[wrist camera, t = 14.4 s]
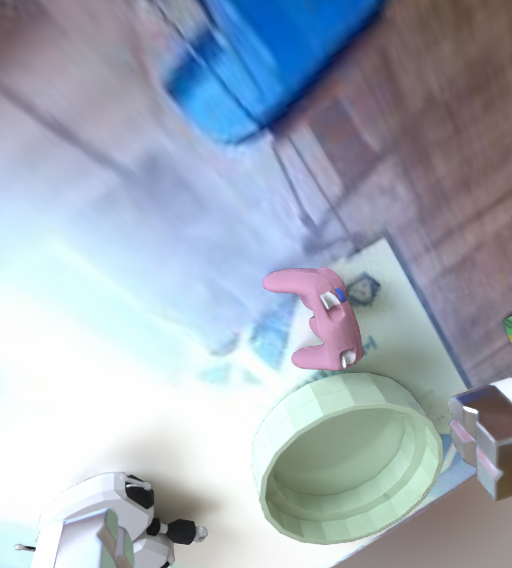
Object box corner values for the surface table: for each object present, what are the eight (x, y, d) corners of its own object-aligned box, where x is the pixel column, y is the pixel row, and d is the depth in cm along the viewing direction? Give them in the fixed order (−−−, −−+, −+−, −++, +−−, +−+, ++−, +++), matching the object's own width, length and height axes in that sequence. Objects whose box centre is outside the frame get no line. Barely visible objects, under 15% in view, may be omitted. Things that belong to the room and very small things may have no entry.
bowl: (411, 346, 46) (438, 378, 41) (423, 472, 54) (446, 510, 50) (230, 403, 44) (238, 442, 40) (271, 522, 53) (282, 565, 49)
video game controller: (323, 337, 45) (381, 363, 40) (289, 366, 43) (344, 397, 38) (293, 249, 40) (354, 264, 35) (254, 277, 39) (311, 297, 33)
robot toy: (212, 507, 51) (118, 439, 44) (218, 547, 48) (117, 480, 40) (123, 564, 53) (16, 507, 45) (122, 607, 49) (6, 553, 41)
